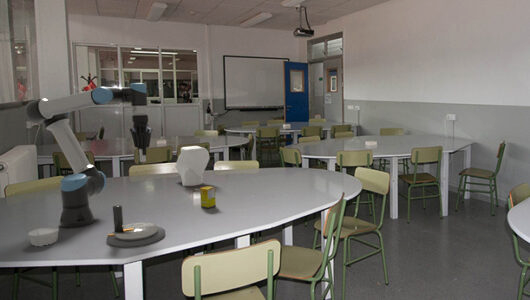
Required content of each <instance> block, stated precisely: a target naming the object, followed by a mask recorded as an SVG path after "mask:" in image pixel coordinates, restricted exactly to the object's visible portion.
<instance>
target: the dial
mask: <svg viewBox="0 0 530 300" xmlns="http://www.w3.org/2000/svg"><path fill="white" fill-rule="evenodd" d="M112 213H113V214H112V215H113V225H114V226H113V227H114V228H113V232H114V237H115V239H117V240H120V241H138V240H144V239H147V238H150V237H153V236H155V235H156V234H157V233H158V227H159V226H158V225H157V224H156V223H152V222H151V223H150V222H134V223H129V224H125V225H124V219H123V205H120V204H117V205H112Z"/></svg>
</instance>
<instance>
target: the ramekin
mask: <svg viewBox="0 0 530 300" xmlns="http://www.w3.org/2000/svg"><path fill="white" fill-rule="evenodd" d="M59 233H60V228H59V227H57V226H46V227H45V226H44V227H39V228H36V229H33V230H31V231H29V232H28V234H27V236H28V237H29V240H30V243H31V246H33V245H35V246H34V247H37V246H39V247H44V246H43V245H47V246H49V245H48V244H50V245H53V244H55V243H56V242H57V241H58V239H59V238H58V237H59ZM54 242H55V243H54ZM52 243H53V244H52Z"/></svg>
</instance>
